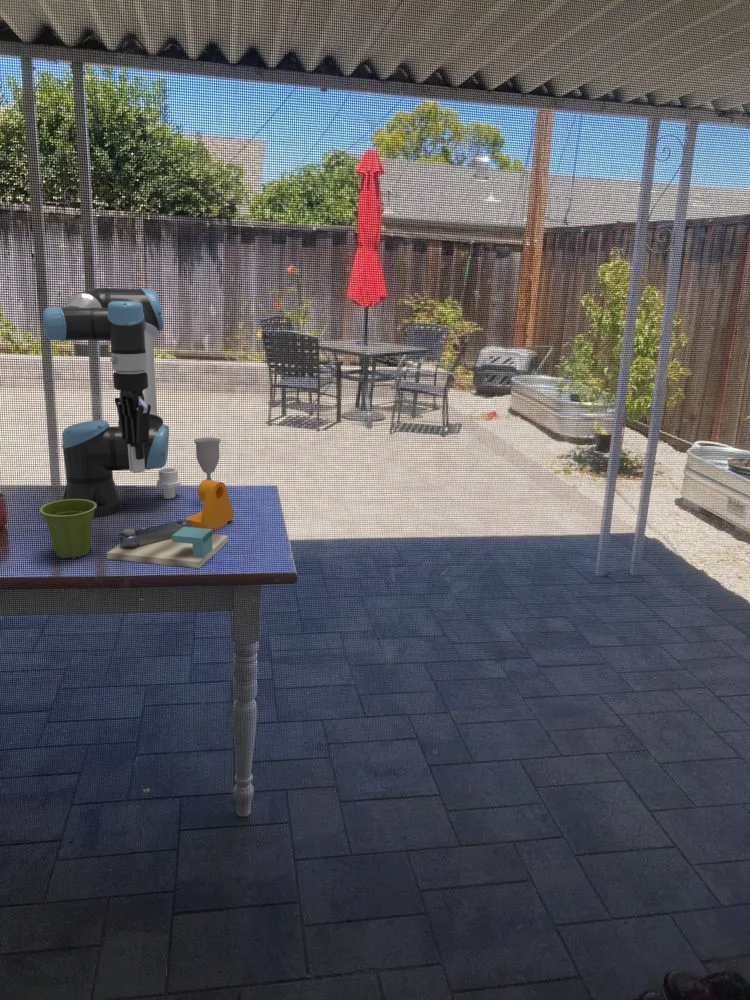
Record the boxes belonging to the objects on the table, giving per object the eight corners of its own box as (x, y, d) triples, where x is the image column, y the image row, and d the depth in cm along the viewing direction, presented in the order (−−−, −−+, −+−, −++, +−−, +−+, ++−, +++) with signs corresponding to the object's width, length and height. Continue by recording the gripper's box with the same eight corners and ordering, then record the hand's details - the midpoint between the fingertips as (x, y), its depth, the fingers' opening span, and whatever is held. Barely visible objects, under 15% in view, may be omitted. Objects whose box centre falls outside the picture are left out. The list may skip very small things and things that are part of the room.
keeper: (173, 555, 165) (172, 535, 164) (184, 546, 171) (183, 526, 170) (202, 558, 164) (201, 538, 163) (213, 549, 170) (212, 529, 168)
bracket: (210, 517, 196) (209, 473, 192) (233, 521, 193) (232, 477, 189) (184, 529, 187) (182, 483, 183) (208, 534, 184) (206, 487, 180)
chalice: (192, 505, 204) (189, 441, 199) (203, 498, 211) (200, 436, 205) (217, 507, 203) (214, 443, 197) (227, 500, 209) (225, 438, 204)
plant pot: (34, 560, 164) (28, 512, 161) (64, 542, 176) (59, 497, 172) (83, 565, 163) (78, 517, 159) (110, 546, 174) (106, 500, 170)
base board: (107, 558, 167) (105, 536, 165) (143, 533, 183) (142, 513, 181) (199, 568, 163) (198, 545, 161) (228, 541, 179) (227, 520, 177)
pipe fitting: (186, 497, 211) (185, 470, 209) (163, 502, 206) (161, 474, 204) (175, 492, 215) (174, 465, 213) (152, 496, 211) (151, 469, 208)
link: (125, 550, 167) (124, 539, 167) (116, 544, 170) (115, 534, 170) (195, 532, 179) (195, 522, 179) (186, 527, 182) (185, 518, 182)
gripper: (100, 369, 171) (108, 467, 178) (129, 376, 162) (136, 480, 169) (130, 366, 176) (138, 462, 183) (160, 373, 167) (166, 474, 174)
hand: (137, 471), depth 176 cm, fingers closed
